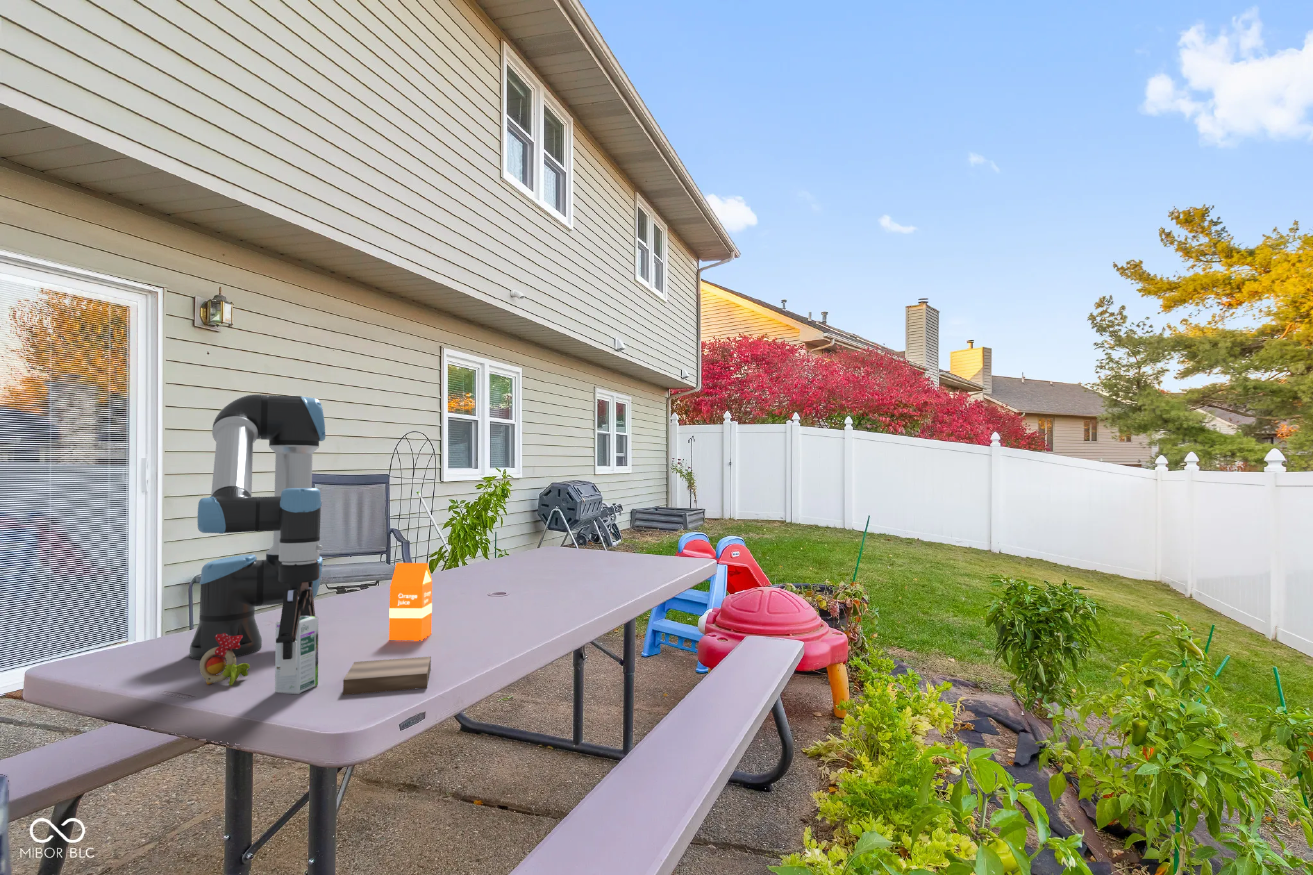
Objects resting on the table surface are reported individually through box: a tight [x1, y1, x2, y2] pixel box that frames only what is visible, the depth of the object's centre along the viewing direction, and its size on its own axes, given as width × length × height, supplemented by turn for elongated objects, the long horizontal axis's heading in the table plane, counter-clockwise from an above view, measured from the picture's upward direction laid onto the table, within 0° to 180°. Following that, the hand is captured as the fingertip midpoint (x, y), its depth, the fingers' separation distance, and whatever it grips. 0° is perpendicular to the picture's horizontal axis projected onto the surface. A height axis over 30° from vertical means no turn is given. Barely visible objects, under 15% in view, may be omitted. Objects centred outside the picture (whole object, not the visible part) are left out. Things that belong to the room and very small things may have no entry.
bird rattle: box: [199, 633, 251, 687], centre depth 142 cm, size 6×11×9 cm
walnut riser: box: [342, 656, 432, 696], centre depth 143 cm, size 13×16×3 cm
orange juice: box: [388, 562, 433, 642], centre depth 181 cm, size 8×9×20 cm
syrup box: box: [274, 615, 319, 695], centre depth 138 cm, size 6×6×14 cm
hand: (296, 665), depth 138 cm, fingers open, 13 cm apart
